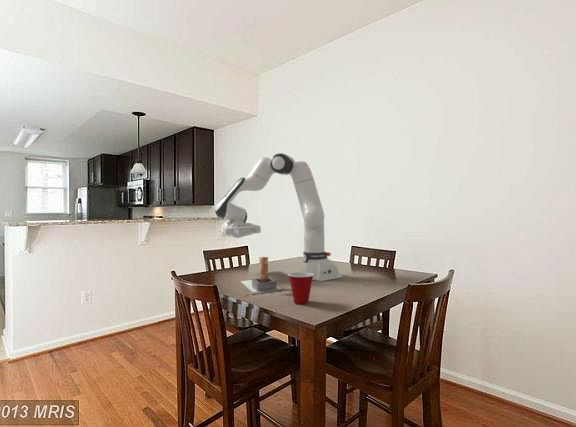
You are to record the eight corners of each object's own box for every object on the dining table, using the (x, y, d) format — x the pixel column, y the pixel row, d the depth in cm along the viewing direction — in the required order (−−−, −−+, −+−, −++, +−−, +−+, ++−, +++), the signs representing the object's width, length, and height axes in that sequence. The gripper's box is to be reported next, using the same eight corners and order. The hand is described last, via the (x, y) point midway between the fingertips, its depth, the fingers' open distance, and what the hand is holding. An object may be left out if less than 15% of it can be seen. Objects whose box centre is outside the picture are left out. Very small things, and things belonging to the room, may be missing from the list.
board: (266, 281, 170) (266, 271, 170) (282, 291, 150) (281, 281, 150) (240, 284, 165) (240, 274, 165) (252, 295, 145) (252, 284, 145)
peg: (266, 286, 155) (266, 256, 154) (269, 288, 151) (269, 257, 150) (258, 287, 153) (258, 257, 153) (261, 289, 149) (260, 258, 149)
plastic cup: (314, 298, 139) (314, 270, 138) (314, 306, 128) (313, 276, 128) (289, 298, 140) (288, 270, 139) (286, 306, 129) (286, 275, 129)
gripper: (218, 225, 174) (228, 226, 162) (253, 223, 185) (265, 223, 173) (219, 237, 174) (229, 238, 162) (254, 234, 185) (265, 235, 173)
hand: (248, 231), depth 168 cm, fingers open, 8 cm apart
